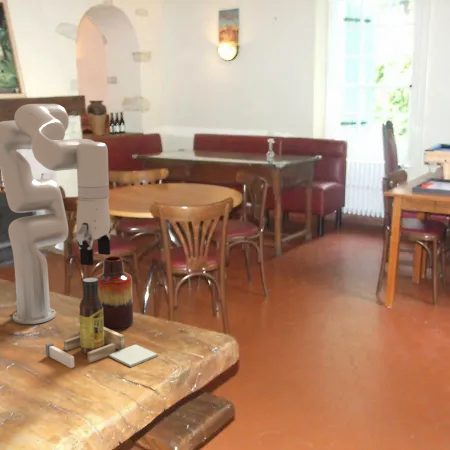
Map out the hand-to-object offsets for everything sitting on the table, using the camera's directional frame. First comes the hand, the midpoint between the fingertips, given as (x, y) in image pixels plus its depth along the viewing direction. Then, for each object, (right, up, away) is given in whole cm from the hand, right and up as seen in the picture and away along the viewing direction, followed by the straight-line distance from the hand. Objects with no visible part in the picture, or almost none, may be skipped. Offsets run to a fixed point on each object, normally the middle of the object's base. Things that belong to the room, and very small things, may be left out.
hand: (96, 259), depth 151 cm
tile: (+8, -26, +7) cm, 28 cm away
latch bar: (-10, -26, +3) cm, 28 cm away
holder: (-3, -25, +10) cm, 27 cm away
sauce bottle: (-3, -25, +10) cm, 28 cm away
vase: (-1, -21, +29) cm, 36 cm away
